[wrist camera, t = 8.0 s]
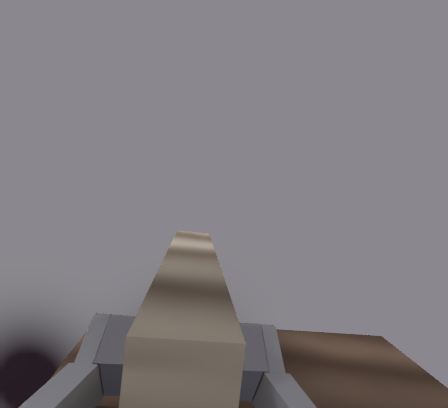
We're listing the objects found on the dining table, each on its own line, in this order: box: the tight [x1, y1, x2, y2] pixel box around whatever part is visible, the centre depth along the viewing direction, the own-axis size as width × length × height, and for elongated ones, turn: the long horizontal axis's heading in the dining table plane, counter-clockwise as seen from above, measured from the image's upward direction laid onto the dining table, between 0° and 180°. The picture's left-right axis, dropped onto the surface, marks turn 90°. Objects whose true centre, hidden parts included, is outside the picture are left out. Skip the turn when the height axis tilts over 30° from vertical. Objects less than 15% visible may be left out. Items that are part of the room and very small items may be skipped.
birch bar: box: [119, 231, 246, 408], centre depth 17 cm, size 20×3×3 cm, turn 5°
